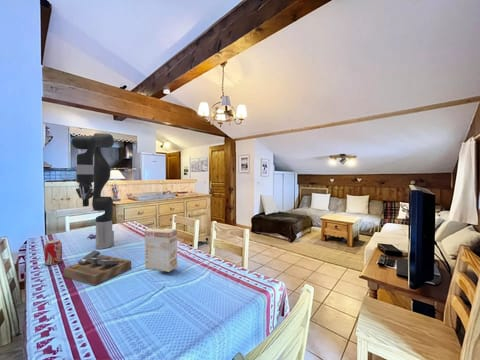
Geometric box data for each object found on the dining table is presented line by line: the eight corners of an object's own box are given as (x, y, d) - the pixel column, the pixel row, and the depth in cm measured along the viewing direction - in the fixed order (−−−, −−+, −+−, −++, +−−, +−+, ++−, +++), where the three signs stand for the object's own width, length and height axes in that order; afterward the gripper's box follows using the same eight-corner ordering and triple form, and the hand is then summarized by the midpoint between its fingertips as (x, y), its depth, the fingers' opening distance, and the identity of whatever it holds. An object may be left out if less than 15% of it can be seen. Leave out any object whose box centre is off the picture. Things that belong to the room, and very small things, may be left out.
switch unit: (102, 262, 114) (102, 253, 114) (131, 268, 106) (131, 258, 106) (63, 276, 98) (63, 266, 97) (94, 285, 89) (94, 274, 89)
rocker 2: (103, 260, 106) (104, 256, 106) (109, 261, 104) (109, 257, 104) (86, 261, 99) (87, 257, 99) (93, 263, 97) (93, 259, 97)
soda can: (51, 266, 109) (51, 243, 109) (41, 265, 110) (40, 242, 110) (65, 261, 116) (65, 239, 115) (55, 260, 117) (54, 238, 117)
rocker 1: (94, 252, 109) (93, 250, 108) (100, 254, 107) (99, 251, 106) (79, 264, 102) (77, 261, 101) (85, 265, 100) (83, 262, 100)
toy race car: (85, 239, 157) (84, 231, 156) (108, 235, 167) (108, 227, 167) (87, 242, 150) (87, 233, 150) (111, 238, 160) (111, 229, 160)
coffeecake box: (178, 266, 108) (177, 228, 108) (169, 272, 101) (168, 232, 101) (154, 262, 113) (154, 226, 113) (144, 268, 106) (144, 229, 106)
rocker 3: (112, 262, 103) (113, 259, 103) (118, 264, 101) (119, 260, 102) (96, 263, 96) (97, 259, 96) (103, 264, 94) (104, 260, 95)
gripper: (100, 173, 112) (101, 206, 112) (84, 173, 117) (85, 204, 117) (85, 173, 105) (86, 208, 105) (69, 173, 110) (70, 206, 110)
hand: (85, 206), depth 111 cm, fingers closed
